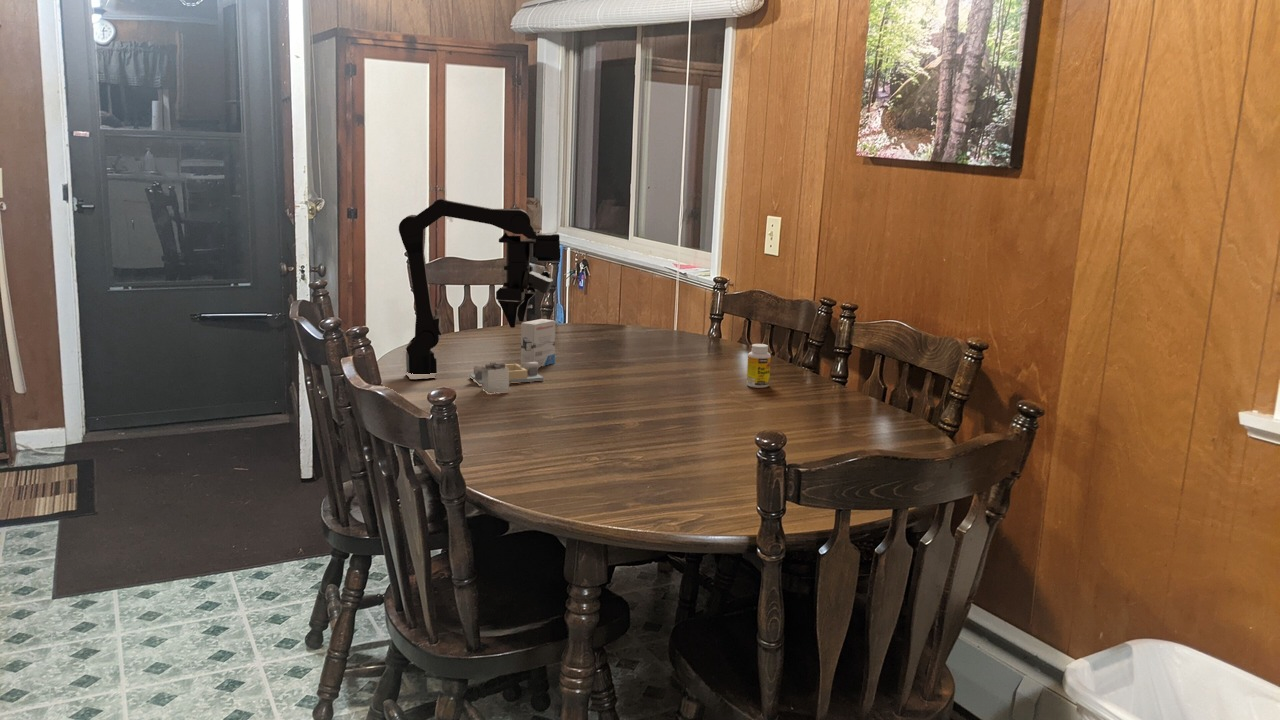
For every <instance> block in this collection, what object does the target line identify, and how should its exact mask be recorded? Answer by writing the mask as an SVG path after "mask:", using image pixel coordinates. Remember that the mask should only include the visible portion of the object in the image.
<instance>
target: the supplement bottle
mask: <svg viewBox="0 0 1280 720" xmlns="http://www.w3.org/2000/svg"><path fill="white" fill-rule="evenodd" d="M771 358H772V357H771V353H770V352H769V345H768V344H765V343H754V344H751V351H750V352H748V354H747V367H746V368H747V369H746V385H747V386H748V387H750V388H754V389H755V388H756V389H759V388H760V389H764V388H767V387H769V385H770V376H771V375H770V374H771V360H772V359H771Z"/></svg>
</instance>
